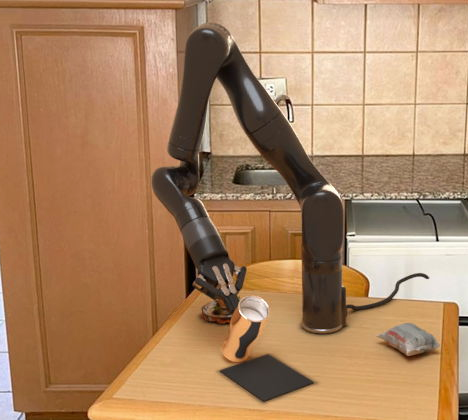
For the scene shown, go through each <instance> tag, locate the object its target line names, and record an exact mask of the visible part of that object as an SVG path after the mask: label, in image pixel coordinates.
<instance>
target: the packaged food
mask: <svg viewBox="0 0 468 420" xmlns="http://www.w3.org/2000/svg"><path fill="white" fill-rule="evenodd" d="M376 337H377V338H378V339H381V340H383V342H385V344H387V345H388V346H391V347H393V348H395V349H397V350H398V351H399V352H401V353H403V354H404V355H406V356H407V357H410V356H415V355H419V354H420V355H421V354H424V353H427V352H431V351H434V350H436V349H438V348H440V347H441V345H440V343H439V342H438V340H437V339H436V337H435V336H434V334H431V333H430V332H428V331H426V330H424V329H422V328H420V327H419V326H417V325H416V324H415V323H413V322H405V323H404V322H403V323H401V324H398V325H395V326H393V327H390V328H389V329H387V330H386V331H385V332H382V333H379V334H376Z"/></svg>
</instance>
